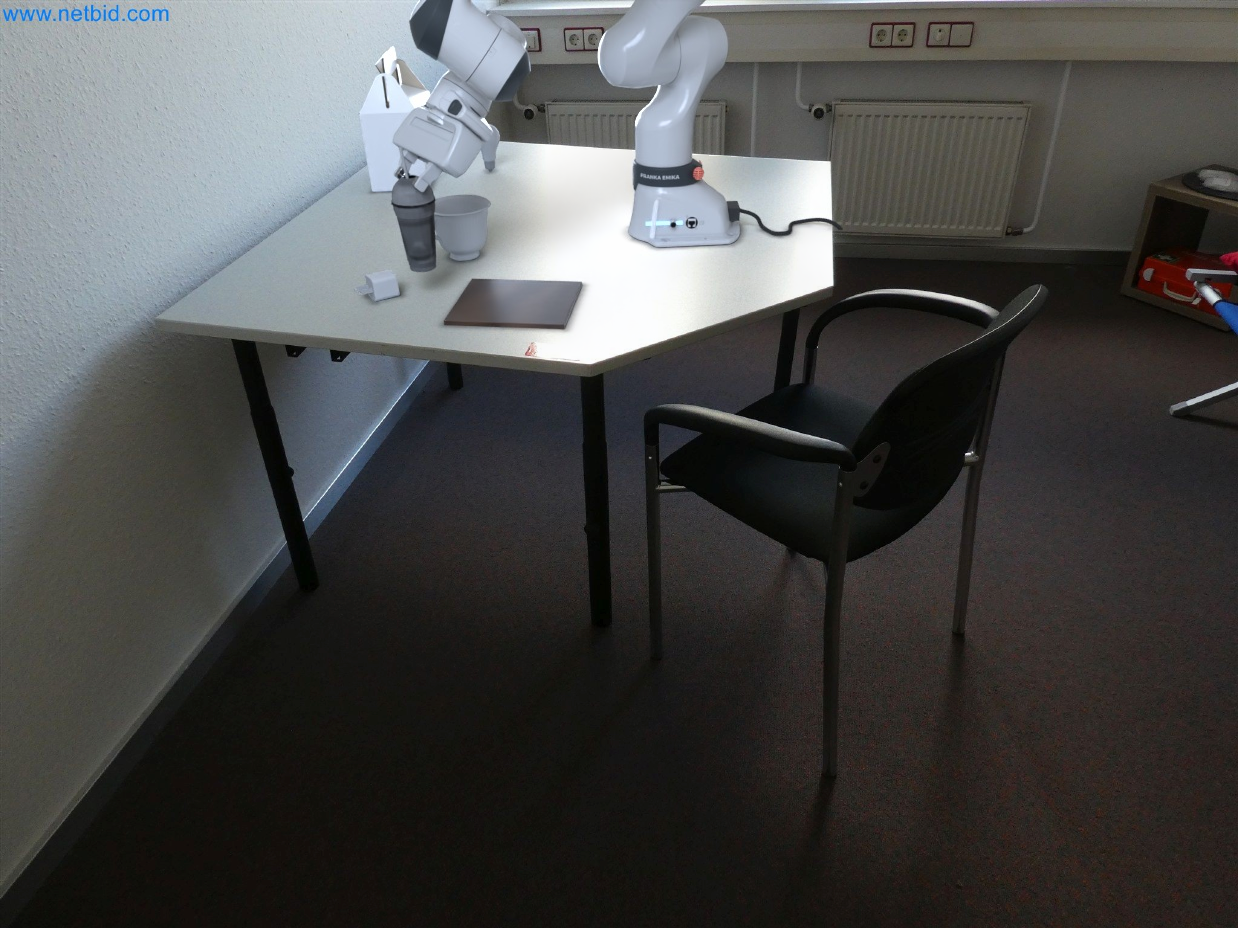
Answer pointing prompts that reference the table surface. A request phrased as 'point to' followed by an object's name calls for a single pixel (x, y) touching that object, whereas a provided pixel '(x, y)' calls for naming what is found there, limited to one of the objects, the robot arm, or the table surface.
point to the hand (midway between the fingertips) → (407, 184)
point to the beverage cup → (415, 221)
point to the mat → (515, 303)
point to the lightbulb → (490, 149)
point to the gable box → (389, 119)
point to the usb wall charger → (380, 285)
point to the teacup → (461, 225)
